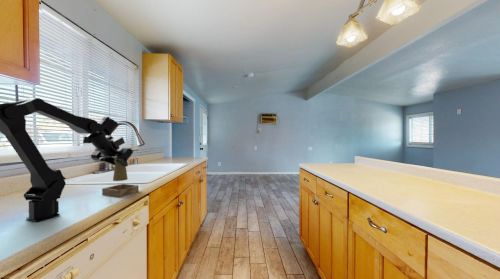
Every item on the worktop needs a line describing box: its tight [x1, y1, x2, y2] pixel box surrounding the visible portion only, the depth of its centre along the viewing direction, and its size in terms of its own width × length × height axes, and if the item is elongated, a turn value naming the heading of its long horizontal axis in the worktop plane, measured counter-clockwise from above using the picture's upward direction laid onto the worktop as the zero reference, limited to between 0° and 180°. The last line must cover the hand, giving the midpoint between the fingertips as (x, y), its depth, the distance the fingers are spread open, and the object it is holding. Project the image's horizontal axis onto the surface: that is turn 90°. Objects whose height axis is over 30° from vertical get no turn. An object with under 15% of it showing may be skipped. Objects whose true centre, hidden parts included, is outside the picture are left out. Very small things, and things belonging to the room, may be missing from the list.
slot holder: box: [101, 183, 139, 198], centre depth 104 cm, size 11×11×3 cm
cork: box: [112, 156, 128, 182], centre depth 104 cm, size 6×6×11 cm
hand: (122, 165), depth 105 cm, fingers closed on cork, 5 cm apart
